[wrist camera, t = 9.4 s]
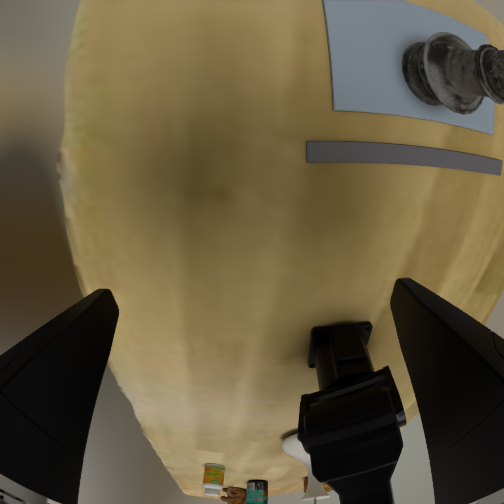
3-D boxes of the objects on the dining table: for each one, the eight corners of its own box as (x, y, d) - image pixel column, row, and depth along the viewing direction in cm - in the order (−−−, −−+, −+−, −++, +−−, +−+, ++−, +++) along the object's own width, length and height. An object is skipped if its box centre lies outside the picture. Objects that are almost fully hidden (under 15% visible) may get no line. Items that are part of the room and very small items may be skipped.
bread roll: (343, 470, 63) (345, 490, 56) (335, 476, 68) (337, 494, 61) (304, 475, 63) (305, 495, 56) (300, 480, 68) (300, 498, 61)
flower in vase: (299, 421, 38) (304, 556, 17) (352, 424, 40) (368, 541, 19) (267, 444, 45) (266, 551, 23) (316, 447, 46) (322, 545, 25)
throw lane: (498, 174, 17) (501, 175, 17) (306, 161, 18) (307, 162, 18) (497, 42, 10) (500, 42, 10) (291, -15, 11) (292, -17, 11)
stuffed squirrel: (227, 485, 76) (225, 513, 65) (259, 489, 79) (258, 515, 68) (218, 487, 81) (216, 513, 69) (248, 491, 84) (247, 515, 72)
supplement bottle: (223, 463, 55) (220, 494, 47) (226, 468, 58) (223, 497, 49) (203, 462, 55) (199, 492, 47) (207, 466, 58) (204, 495, 50)
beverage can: (263, 483, 70) (263, 510, 60) (244, 481, 69) (243, 509, 59) (270, 480, 67) (270, 509, 56) (250, 478, 66) (249, 509, 55)
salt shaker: (461, 111, 14) (578, 149, 4) (405, 109, 15) (535, 142, 5) (450, 44, 12) (565, 42, 1) (390, 34, 12) (510, 1, 2)
